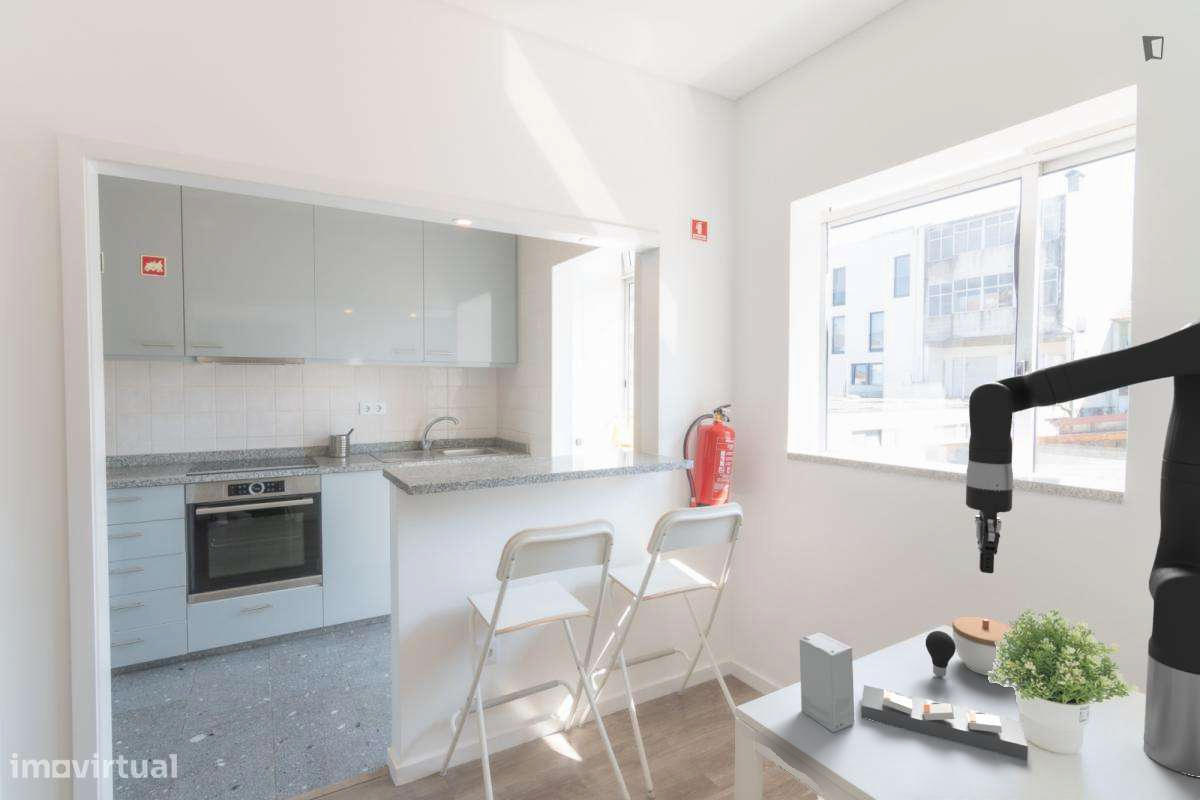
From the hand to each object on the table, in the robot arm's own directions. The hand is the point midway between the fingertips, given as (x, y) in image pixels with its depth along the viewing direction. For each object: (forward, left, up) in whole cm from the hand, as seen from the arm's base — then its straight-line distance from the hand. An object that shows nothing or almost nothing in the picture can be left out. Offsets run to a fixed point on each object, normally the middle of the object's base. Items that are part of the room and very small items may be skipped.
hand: (986, 571), depth 114 cm
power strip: (+8, +12, -27) cm, 31 cm away
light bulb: (+7, -8, -27) cm, 29 cm away
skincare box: (+27, +19, -27) cm, 43 cm away
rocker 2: (+1, +14, -24) cm, 28 cm away
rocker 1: (+15, +14, -24) cm, 31 cm away
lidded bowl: (-2, -17, -27) cm, 32 cm away
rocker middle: (+8, +14, -24) cm, 29 cm away
